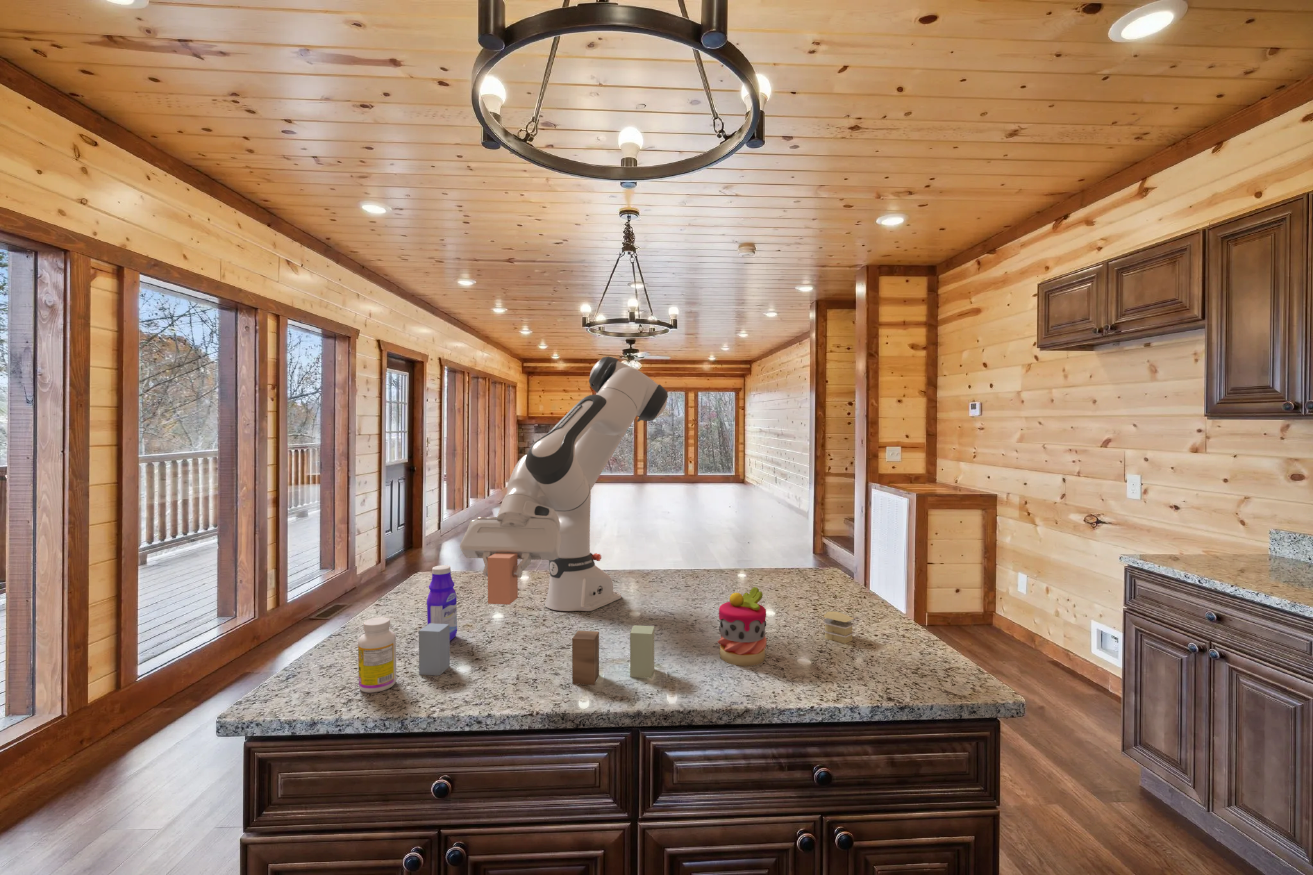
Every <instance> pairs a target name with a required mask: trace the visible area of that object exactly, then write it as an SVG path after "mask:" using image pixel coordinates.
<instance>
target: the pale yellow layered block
mask: <svg viewBox="0 0 1313 875" xmlns="http://www.w3.org/2000/svg"><path fill="white" fill-rule="evenodd" d="M823 617H824V618H825V619H824V620H823V624H824V628H823V629H822V630H823V632H824V638H825V639H826V640H828V641H835V642H837V643H841V644H847V643H849V642H851V641H853V635H854V634H855V632H854V631H853V626H855V623H854V622H850V621H852V620H854V619H855V618H854V617H851V616H849V615H847V614H844V613H842V612H838V611H826V613H825V614H823Z"/></svg>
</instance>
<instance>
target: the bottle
mask: <svg viewBox="0 0 1313 875" xmlns="http://www.w3.org/2000/svg"><path fill="white" fill-rule="evenodd" d="M431 571H432V572H431V574H432V575H431V581H430V584H429V585H428V589H429V593H428V595H427V599H426V615H427V616H426V622H427V623H426V626H427V625H428V624H429V623H432V624H449V633H450V641H452V640H453V639H454V638H455V637H456V636H457V632H458V619H457V618H458V614H457V613H458V612H457V610H458V608H457V607H458V604H457V602H458V601H457V597H458V596H457V593H456V590H455V588H454V586H455V581H453V579H452V575H451V566H450V565H448V564H447V565H446V564H443V565H441V564H440V565H436V566H433V567H432V569H431Z"/></svg>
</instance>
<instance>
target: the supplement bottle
mask: <svg viewBox="0 0 1313 875" xmlns="http://www.w3.org/2000/svg"><path fill="white" fill-rule="evenodd" d="M390 627H391V619H390V618H389V617H385V616H380V617H379V616H378V617H373V618H368V619H366V620H364V622H363V626H362V628H363V630H364V633H363V634H362V635H361V636H360V637H359V638H358V640H357V648H358V649H357V650H358V651H357V653H358V656H357V658H358V659H357V662H358V688H359V690H360V691H361V692H363V693H371V694H373V693H379V692H382V691H383V692H384V691H386V690H388V689H390V688H392V687H393V686H394V685H395V684H396V682H397V638H396V636H397V635H396V633H395V632H394V631H393V630H391V629H390Z"/></svg>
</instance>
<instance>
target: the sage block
mask: <svg viewBox="0 0 1313 875" xmlns="http://www.w3.org/2000/svg"><path fill="white" fill-rule="evenodd" d="M629 641H630V642H629V676H630V677H629V678H639V679H641V678H642V679H644V678H645V679H652V678H653V676H654V675H653V674H654V673H655V626H653V625H633V626H632V628H631V631H630V632H629Z"/></svg>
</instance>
